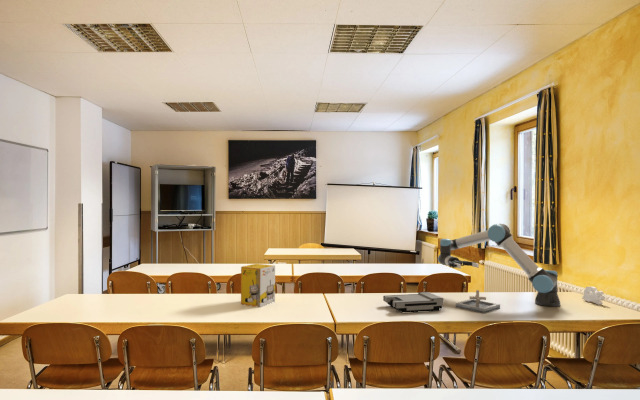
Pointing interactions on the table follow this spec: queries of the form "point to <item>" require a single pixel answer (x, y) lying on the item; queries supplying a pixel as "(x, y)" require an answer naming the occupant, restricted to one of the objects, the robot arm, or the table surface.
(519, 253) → the robot arm
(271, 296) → the packaging box
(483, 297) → the pipe connector
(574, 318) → the table surface
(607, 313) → the table surface
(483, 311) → the carrier plate
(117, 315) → the table surface
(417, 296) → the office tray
